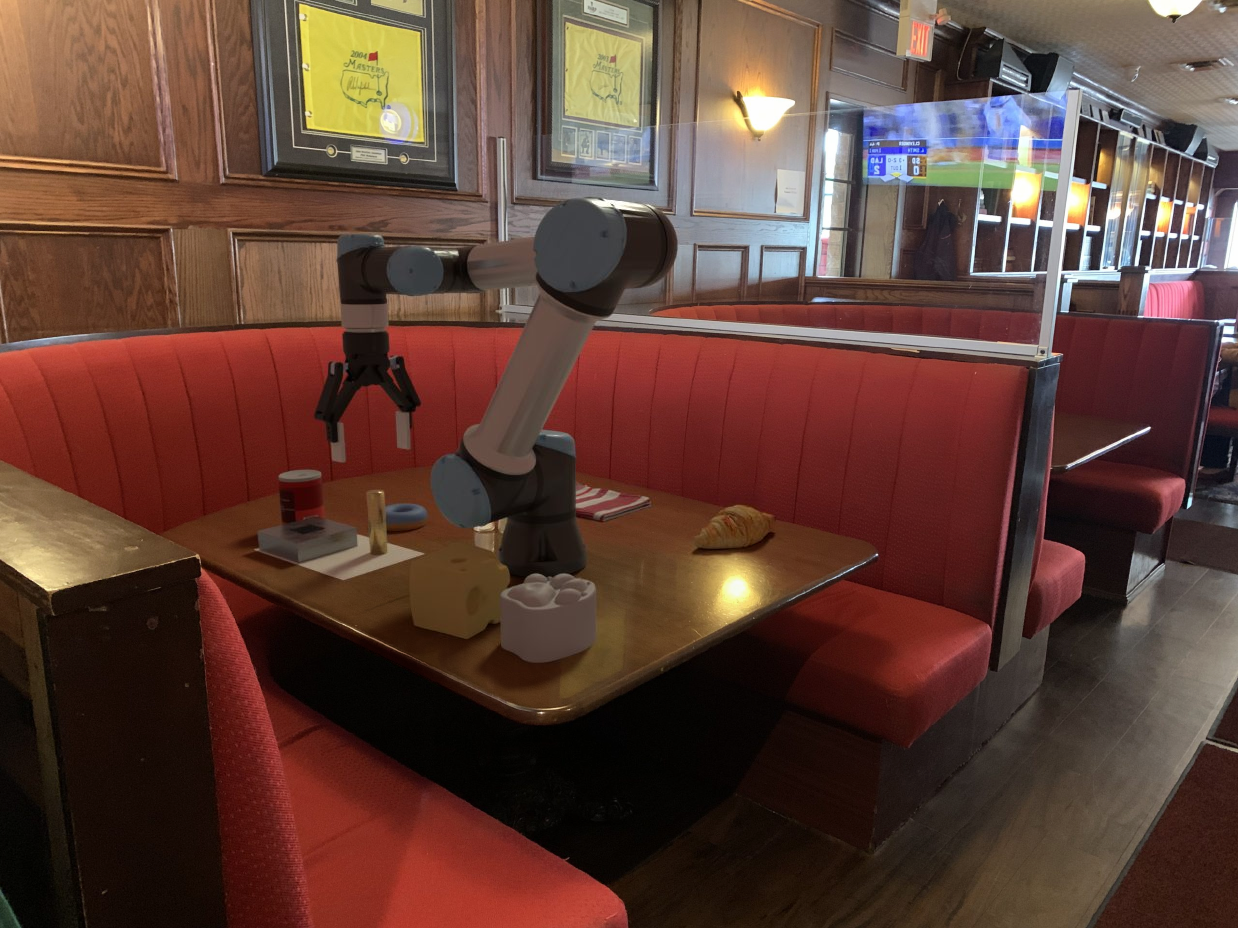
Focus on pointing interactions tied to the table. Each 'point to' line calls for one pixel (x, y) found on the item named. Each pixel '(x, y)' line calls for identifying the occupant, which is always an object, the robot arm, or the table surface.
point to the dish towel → (606, 503)
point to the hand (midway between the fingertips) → (372, 454)
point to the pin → (377, 522)
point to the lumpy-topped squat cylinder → (548, 617)
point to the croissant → (735, 528)
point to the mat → (355, 560)
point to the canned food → (300, 495)
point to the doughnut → (405, 517)
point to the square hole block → (307, 539)
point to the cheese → (457, 589)
